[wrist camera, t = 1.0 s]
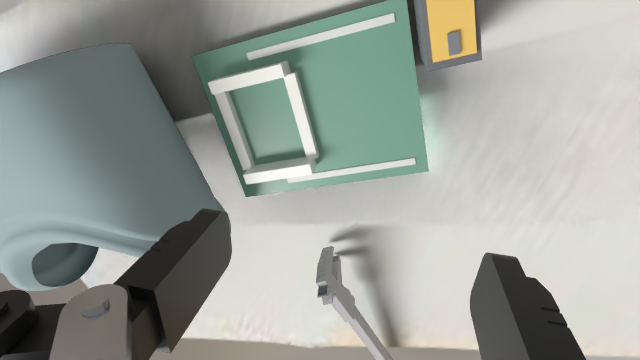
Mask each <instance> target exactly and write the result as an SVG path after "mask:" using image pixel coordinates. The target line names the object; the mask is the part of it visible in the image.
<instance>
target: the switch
mask: <svg viewBox="0 0 640 360" xmlns="http://www.w3.org/2000/svg"><path fill="white" fill-rule="evenodd" d="M413 3H414V11H415V19H416V28H417V36H418V44H419V52H420V57H421V59H422V61H423V63H424V65H425V66H426V68H427V70H428V72H429V71H433V70H438V69H442V68H447V67H451V66H456V65H461V64H465V63H470V62H474V61H479V60H482V53H481V33H480V12H479V0H413Z"/></svg>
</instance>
